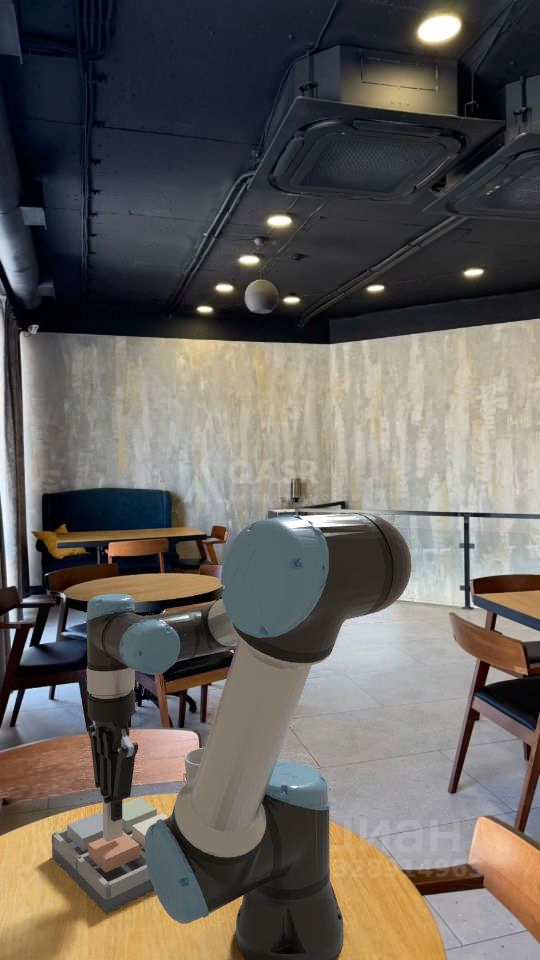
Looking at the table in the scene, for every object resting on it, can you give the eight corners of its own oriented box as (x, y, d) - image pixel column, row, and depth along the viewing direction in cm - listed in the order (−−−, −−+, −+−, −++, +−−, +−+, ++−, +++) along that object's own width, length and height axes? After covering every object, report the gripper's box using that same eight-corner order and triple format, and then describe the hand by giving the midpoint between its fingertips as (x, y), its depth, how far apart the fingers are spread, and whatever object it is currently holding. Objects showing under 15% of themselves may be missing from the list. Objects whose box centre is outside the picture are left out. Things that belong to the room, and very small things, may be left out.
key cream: (181, 838, 107) (181, 826, 107) (150, 852, 103) (150, 839, 103) (162, 824, 111) (162, 813, 111) (132, 837, 107) (132, 825, 107)
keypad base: (199, 867, 106) (199, 843, 106) (106, 914, 94) (105, 887, 94) (139, 821, 121) (138, 800, 121) (52, 857, 109) (51, 833, 109)
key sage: (156, 820, 113) (156, 809, 113) (126, 832, 109) (126, 821, 109) (139, 807, 117) (139, 797, 117) (110, 819, 113) (110, 808, 113)
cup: (220, 831, 116) (219, 766, 117) (179, 827, 118) (178, 763, 118) (231, 810, 124) (230, 748, 124) (193, 806, 126) (192, 746, 126)
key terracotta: (139, 857, 102) (139, 844, 102) (105, 872, 98) (105, 859, 98) (121, 841, 106) (121, 829, 106) (88, 856, 102) (88, 843, 102)
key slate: (116, 837, 108) (115, 825, 108) (82, 851, 104) (82, 838, 104) (99, 823, 112) (99, 812, 112) (67, 836, 108) (67, 824, 108)
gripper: (152, 695, 100) (154, 845, 100) (113, 677, 110) (114, 813, 110) (109, 707, 95) (110, 864, 95) (72, 686, 105) (73, 829, 105)
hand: (112, 836), depth 102 cm, fingers closed
